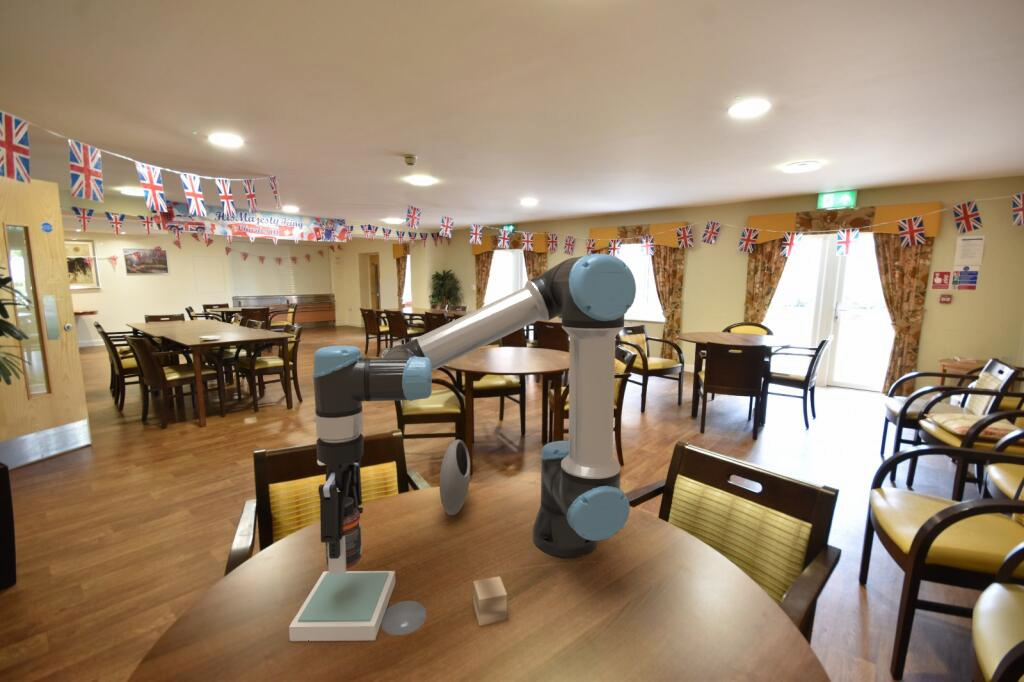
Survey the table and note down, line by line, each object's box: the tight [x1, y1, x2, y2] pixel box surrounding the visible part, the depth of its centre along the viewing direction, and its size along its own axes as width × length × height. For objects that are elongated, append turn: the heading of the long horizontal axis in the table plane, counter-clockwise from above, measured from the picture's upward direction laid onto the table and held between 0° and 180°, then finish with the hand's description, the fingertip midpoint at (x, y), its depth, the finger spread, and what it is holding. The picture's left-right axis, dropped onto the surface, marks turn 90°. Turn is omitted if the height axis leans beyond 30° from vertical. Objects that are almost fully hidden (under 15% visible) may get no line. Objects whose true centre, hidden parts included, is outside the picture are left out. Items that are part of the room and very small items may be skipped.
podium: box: [288, 570, 396, 642], centre depth 78 cm, size 14×14×3 cm
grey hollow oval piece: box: [439, 439, 471, 516], centre depth 113 cm, size 18×7×19 cm, turn 176°
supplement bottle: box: [325, 497, 363, 570], centre depth 77 cm, size 6×6×11 cm
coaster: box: [380, 600, 427, 636], centre depth 77 cm, size 8×8×1 cm
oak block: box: [473, 576, 508, 626], centre depth 78 cm, size 5×5×5 cm
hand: (344, 559), depth 77 cm, fingers closed on supplement bottle, 6 cm apart
